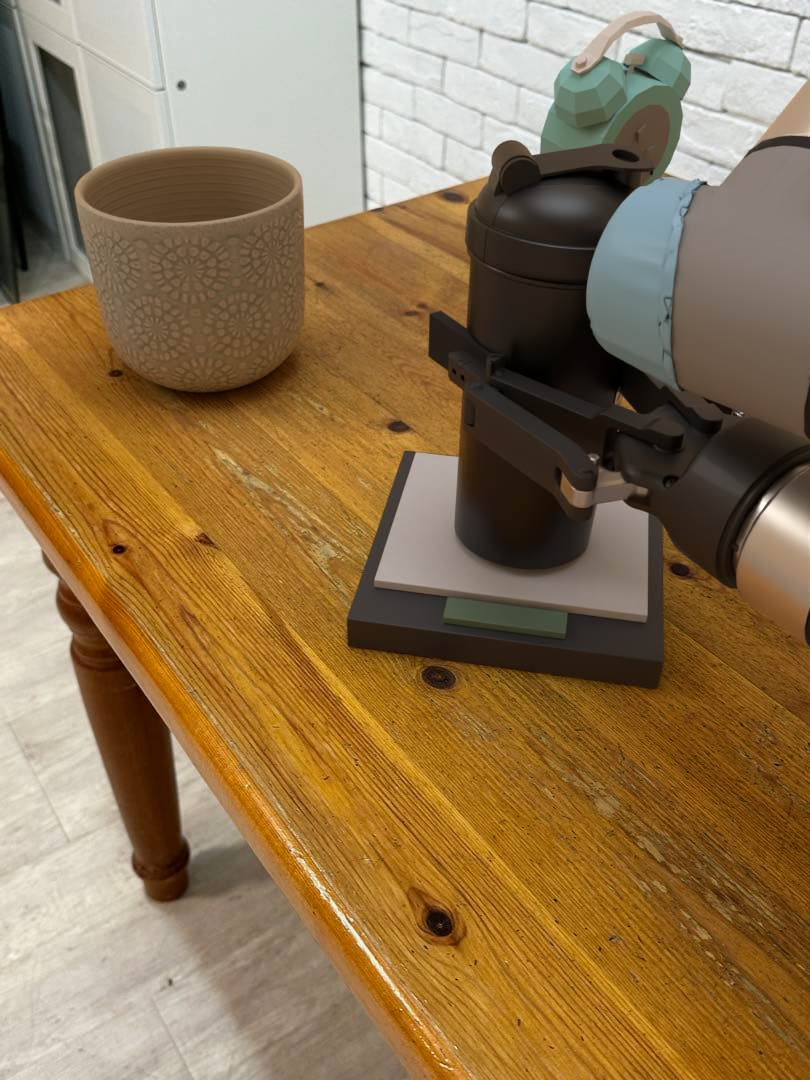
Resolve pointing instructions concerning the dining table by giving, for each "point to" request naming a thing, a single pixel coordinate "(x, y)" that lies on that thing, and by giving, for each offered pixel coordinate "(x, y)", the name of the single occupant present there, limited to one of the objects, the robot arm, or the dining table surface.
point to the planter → (197, 262)
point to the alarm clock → (622, 95)
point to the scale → (510, 590)
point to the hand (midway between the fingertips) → (480, 320)
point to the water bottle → (537, 328)
